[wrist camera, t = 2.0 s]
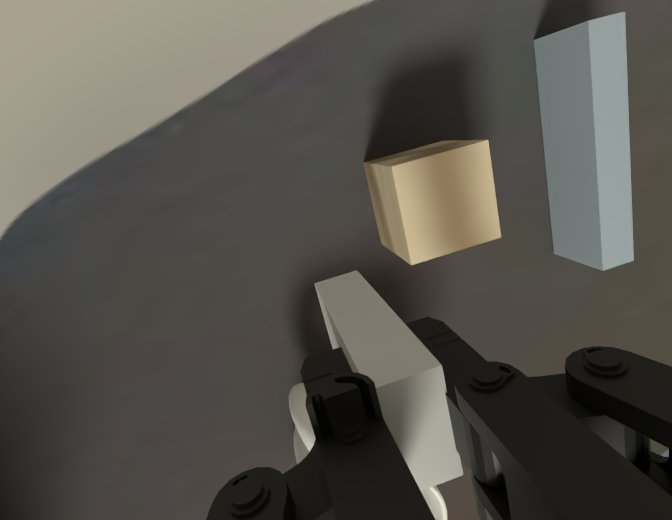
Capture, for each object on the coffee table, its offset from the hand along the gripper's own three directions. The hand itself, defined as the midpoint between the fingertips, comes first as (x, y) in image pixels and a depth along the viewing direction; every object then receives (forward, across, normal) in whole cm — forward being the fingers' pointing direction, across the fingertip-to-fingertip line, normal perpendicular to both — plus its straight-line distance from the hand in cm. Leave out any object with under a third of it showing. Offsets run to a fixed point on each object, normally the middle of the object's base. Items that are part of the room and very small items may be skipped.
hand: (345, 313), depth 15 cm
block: (+16, +9, 0) cm, 18 cm away
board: (+16, +21, 0) cm, 26 cm away
